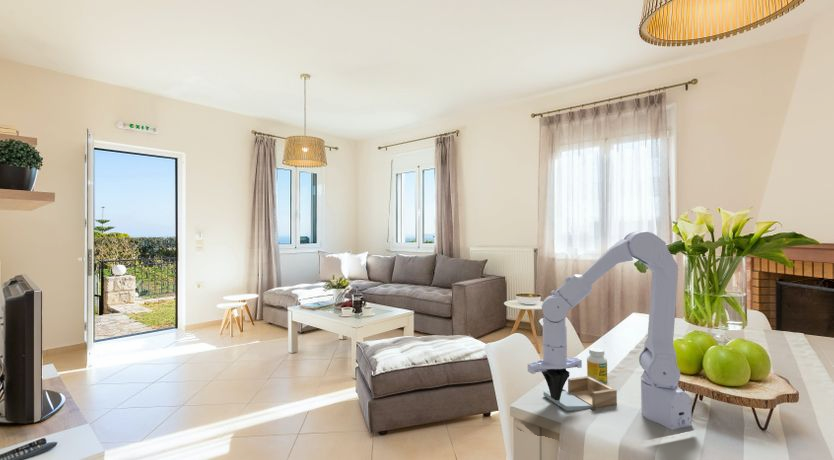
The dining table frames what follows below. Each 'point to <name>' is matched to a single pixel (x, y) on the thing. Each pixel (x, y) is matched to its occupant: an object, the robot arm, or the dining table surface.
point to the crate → (592, 392)
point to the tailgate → (568, 401)
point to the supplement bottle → (597, 365)
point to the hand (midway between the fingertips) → (555, 398)
